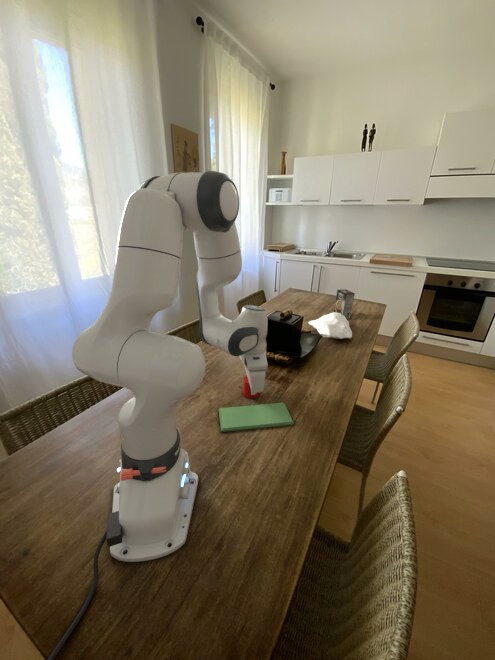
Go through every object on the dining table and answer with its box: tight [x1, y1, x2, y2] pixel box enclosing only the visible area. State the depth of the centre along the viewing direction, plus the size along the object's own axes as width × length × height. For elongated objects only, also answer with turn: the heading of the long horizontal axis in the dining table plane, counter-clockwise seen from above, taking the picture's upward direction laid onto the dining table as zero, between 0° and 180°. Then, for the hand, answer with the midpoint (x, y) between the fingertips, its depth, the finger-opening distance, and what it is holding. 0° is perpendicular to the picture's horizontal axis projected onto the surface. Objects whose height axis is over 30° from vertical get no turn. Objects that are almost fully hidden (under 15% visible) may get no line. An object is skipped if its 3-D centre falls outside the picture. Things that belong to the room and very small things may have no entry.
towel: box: [218, 402, 295, 433], centre depth 87 cm, size 10×22×1 cm, turn 100°
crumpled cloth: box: [307, 311, 353, 340], centre depth 148 cm, size 24×35×9 cm
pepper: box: [242, 375, 260, 399], centre depth 97 cm, size 6×6×7 cm
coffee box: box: [333, 289, 356, 320], centre depth 171 cm, size 9×6×16 cm
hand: (251, 387), depth 98 cm, fingers closed on pepper, 6 cm apart
